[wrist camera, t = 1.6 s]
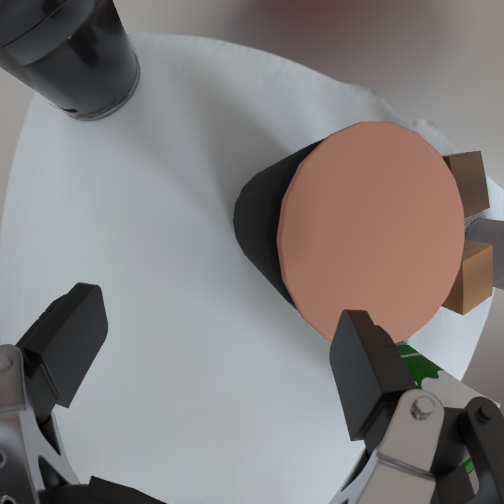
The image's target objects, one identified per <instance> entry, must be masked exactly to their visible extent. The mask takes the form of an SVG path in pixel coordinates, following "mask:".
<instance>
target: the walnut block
mask: <svg viewBox="0 0 504 504" xmlns="http://www.w3.org/2000/svg"><path fill="white" fill-rule="evenodd" d="M442 158H443V160H444V161H445V163H446V165H447V166H448V168H449V170H450V171H451V173H452V175H453V177H454V178H455V181H456V184H457V188H458V191H459V194H460V198H461V201H462V205H463V211H464V218H466V217H468V216H471V215H473V214H476V213H478V212H480V211H483V210H485V209H488V208H490V206H489V197H488V190H487V183H486V177H485V172H484V166H483V161H482V156H481V152H480V151H474V152H466V153H458V154H451V155H444V156H442Z"/></svg>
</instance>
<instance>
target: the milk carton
mask: <svg viewBox="0 0 504 504" xmlns="http://www.w3.org/2000/svg"><path fill="white" fill-rule="evenodd" d="M396 348H397V349H398V351H399V352H400V354H401V355H400V357H402V358H403V360H404V362H405V364H406V366H407V367H408V369H409V371H410V373H411V375H412V377H413V379H414V381H415V383H416V385H417V387H418V389H422V390H426V391H428V392H430V393H432V394H434V395H435V396H436V397H437V398H438V399H439V400H440V401H441V403H442V405H443V407H451V408H462V409H464V408H465V406H466V405H467V404H468V402H469V401H470V400H471V399H472V398H474V397H478V396H481V397H485V396H483V395H481V394H479V393H478V392H476V391H474V390H472V389H471V388H469V387H467V386H466V385H465V384H463V383H461V382H460V381H459V380H457V379H456V378H454V377H453V376H452V375H450V374H449V373H447V372H446V371H444V370H443V369H441V368H440V367H439V366H437V365H436V364H434V363H433V362H431V361H430V360H428V359H427V358H426V357H424V356H423V355H421V354H420V353H419V352H417V351H416V350H415V349H413V348H412V347H410V346H409V345H404V346H396ZM486 398H487V397H486ZM488 399H489V398H488ZM490 400H491V399H490ZM491 401H493V400H491ZM493 402H494V403H495V404H496V405H497V406H498V408H499V407H500V404H499V403H497V402H495V401H493ZM464 464H465V467H466V470H467V473H468V474H469V473H471V472H472V470H473V469H474V466H473V463H472V461H471V458H470V457H469V458H468V459H467V460H466V461H465V462H464Z"/></svg>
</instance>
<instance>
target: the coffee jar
mask: <svg viewBox="0 0 504 504" xmlns="http://www.w3.org/2000/svg"><path fill="white" fill-rule="evenodd" d="M233 223H234V228H235V234H236V239H237V241H238V243H239V245H240V246H241V248H242V250H243V252H244V254H245V255H246V256H247V257H248V258H249V259H250V261H251V262H252V263H253V264H254V265H255V266H256V267H257V268H258V269H259V271H260V272H261V273H262V274H263V275H264V276H265V277H266V278H267V279H268V281H269V282H270V283H271V284H272V285H273V286H274V287H275V288H276V289H277V290H278V292H279V293H280V294H281V295H282V296H283V297H284V298H285V299H286V300H287V301H288V302H289V303H290V304H291V305H292V306H293V307H294V308H296V309H297V310H298V311H299V313H300V314H301V316H302V317H303V318H304V319H305V320H306V321H307V322H308V323H309V324H310V325H311V326H312V327H314V328H315V329H316V330H317V331H318V332H319V333H320V334H321V335H322V336H323V337H324V338H326V339H327V340H330V341H332V340H333V337H334V334H335V331H336V328H337V325H338V321H339V318H340V315H341V313H342V311H343V310H344V309H351V310H366V311H367V312H368V313H369V315H370V317H371V319H372V321H373V323H374V325H380V326H381V327H382V328H383V329H384V330H385V331H386V332H387V333H388V334H390V336H391V338H392V340H393V341H394V343H397V342H400V341H402V340H404V339H407V338H409V337H410V336H411V335H413V334H414V333H415V332H416V331H418V330H419V329H420V328H421V327H423V326H424V325H425V324H426V323H427V322H429V321H430V320H431V319H432V317H433V316H434V315H435V313H436V312H437V311H438V309H439V308H440V307H441V305H442V304H443V302H444V301H445V300H446V298H447V297H448V295H449V293H450V290H451V288H452V286H453V283H454V281H455V278H456V276H457V274H458V271H459V268H460V264H461V258H462V253H463V247H464V240H465V230H464V211H463V205H462V201H461V198H460V194H459V191H458V188H457V184H456V181H455V178H454V177H453V175H452V173H451V171H450V170H449V168H448V166H447V165H446V163H445V161H444V160H443V158H442V156H441V155H440V153H439V152H438V151H437V150H435V149H434V148H433V147H432V146H431V145H430V144H429V143H428V142H427V141H426V140H425V139H424V138H422V137H421V136H420V135H419V134H417V133H415V132H413V131H411V130H408V129H406V128H404V127H401V126H399V125H397V124H394V123H392V122H359V123H357V124H354V125H352V126H349V127H347V128H345V129H342V130H340V131H337V132H335V133H333V134H331V135H329V136H328V137H327V138H324V139H322V140H320V141H318V142H315V143H313V144H311V145H309V146H307V147H305V148H303V149H301V150H299V151H297V152H295V153H294V154H292V155H290V156H288V157H286V158H285V159H283V160H281V161H279V162H277V163H276V164H274V165H272V166H270V167H268V168H267V169H265V170H263V171H261V172H260V173H258V174H256V175H255V176H254V177H253V178H252V179H251V180H250V181H249V182H248V183H247V184H246V185H245V186H244V187H243V189H242V191H241V193H240V195H239V197H238V199H237V201H236V205H235V211H234V218H233Z"/></svg>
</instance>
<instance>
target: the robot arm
mask: <svg viewBox="0 0 504 504" xmlns="http://www.w3.org/2000/svg"><path fill="white" fill-rule="evenodd" d="M0 67H1V68H2V69H4V70H5V71H7V72H8V73H10V74H11V75H13V76H14V77H16V78H17V79H19V80H20V81H22V82H23V83H25V84H26V85H27V86H29V87H31V88H32V89H33V90H35V91H36V92H38V93H39V94H41V95H42V96H44V97H45V98H46V99H48V100H49V101H51V102H52V103H54V104H55V105H57V106H58V107H59V108H61V109H62V110H61V109H59V108H57V107H55V106H53V105H52V106H53V107H55V108H57V109H59V110H61V111H63V112H65V113H67V114H68V115H69V116H71V117H72V118H74V119H77V120H80V121H94V120H98V119H102V118H104V117H107V116H109V115H110V114H112V113H114V112H115V111H117V110H118V109H119V108H120V107H122V106H123V105H124V104H125V103H126V102H127V101H128V99H129V98H130V97H131V95H132V94H133V92H134V90H135V88H136V86H137V84H138V81H139V76H140V67H139V62H138V60H137V57H136V55H135V53H134V52H133V50H132V48H131V45H130V43H129V40H128V38H127V35H126V33H125V30H124V28H123V26H122V23H121V21H120V18H119V15H118V13H117V10H116V8H115V5H114V3H113V0H0ZM50 105H51V104H50ZM107 333H108V321H107V316H106V311H105V306H104V301H103V296H102V291H101V288H100V286H98V285H94V284H88V283H81V282H79V283H77V284H76V285H75V286H74V287H73V288H72V289H71V290H70V291H69V292H68V293H67V294H65V295H63V296H61V297H60V298H58V299H56V300H55V301H53V302H52V303H51V304H50V305H49V307H48V308H47V309H46V310H45V312H43V313H42V314H41V316H40V317H39V320H38V319H37V320H36V321H35V322H34V324H33V325H32V326H31V327H30V328H29V329H28V331H27V332H26V333H25V334H24V335H23V337H22V338H21V339H20V340H19V341H18V343H17V344H16V345H11V344H5V345H1V346H0V504H167V503H164V502H162V501H160V500H157V499H155V498H153V497H151V496H149V495H146V494H144V493H142V492H140V491H138V490H136V489H134V488H131V487H127V486H123V485H120V484H116V483H113V482H110V481H106V480H103V479H100V478H97V477H94V476H91V479H90V482H89V484H80V482H79V480H78V478H77V476H76V474H75V473H74V471H73V470H72V468H71V466H70V464H69V462H68V460H67V457H66V454H65V450H64V447H63V444H62V440H61V437H60V433H59V429H58V426H57V422H56V417H55V414H54V412H53V410H52V409H53V408H54V406H55V404H58V405H60V406H63V407H66V408H69V406H70V404H71V402H72V400H73V398H74V396H75V394H76V392H77V390H78V388H79V386H80V384H81V382H82V381H83V379H84V377H85V375H86V373H87V371H88V369H89V368H90V366H91V364H92V362H93V360H94V359H95V357H96V355H97V353H98V352H99V350H100V348H101V346H102V345H103V343H104V341H105V339H106V337H107ZM400 355H401V354H400V352H399V351H398V349H397V348H396V345H395V343H394V341H393V340H392V338H391V336H390V334H388V333H387V332H386V331H385V330H384V329H383V328H382V327H381V326H380V325H374V323H373V321H372V319H371V317H370V315H369V313H368V312H367V311H366V310H351V309H344V310H343V311H342V313H341V315H340V318H339V321H338V325H337V328H336V331H335V334H334V337H333V340H332V343H331V347H330V364H331V367H332V371H333V375H334V378H335V382H336V385H337V389H338V393H339V397H340V400H341V404H342V408H343V412H344V416H345V420H346V424H347V427H348V431H349V436H350V440H351V441H357V440H364V442H365V446H366V447H365V448H364V449H363V451H362V452H361V454H360V456H359V458H358V459H357V461H356V463H355V465H354V466H353V468H352V470H351V471H350V473H349V475H348V476H347V478H346V480H345V481H344V483H343V484H342V486H341V488H340V489H339V491H338V492H337V494H336V495H335V496H334V498H333V499H332V500H331V501H330V503H329V504H429V503H430V504H504V417H503V415H502V413H501V412H500V410H499V408H498V406H497V405H496V404H495V403H494V402H493V401H491V400H490V399H488V398H486V397H481V396H478V397H474V398H472V399H471V400H470V401H469V402H468V404H467V405H466V406H465V408H464V409H462V408H451V407H443V405H442V403H441V401H440V400H439V399H438V398H437V397H436V396H435V395H434V394H432V393H430V392H428V391H426V390H422V389H418V387H417V385H416V383H415V381H414V379H413V377H412V375H411V373H410V371H409V369H408V367H407V366H406V364H405V362H404V360H403V358H402V357H400ZM469 457H470V458H471V461H472V463H473V466H474V469H475V472H476V474H477V477H478V480H479V490H478V492H477V494H476V495H475V494H474V491H473V488H472V485H471V482H470V479H469V476H468V473H467V470H466V467H465V464H464V462H465V461H466V460H467V459H468V458H469Z"/></svg>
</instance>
